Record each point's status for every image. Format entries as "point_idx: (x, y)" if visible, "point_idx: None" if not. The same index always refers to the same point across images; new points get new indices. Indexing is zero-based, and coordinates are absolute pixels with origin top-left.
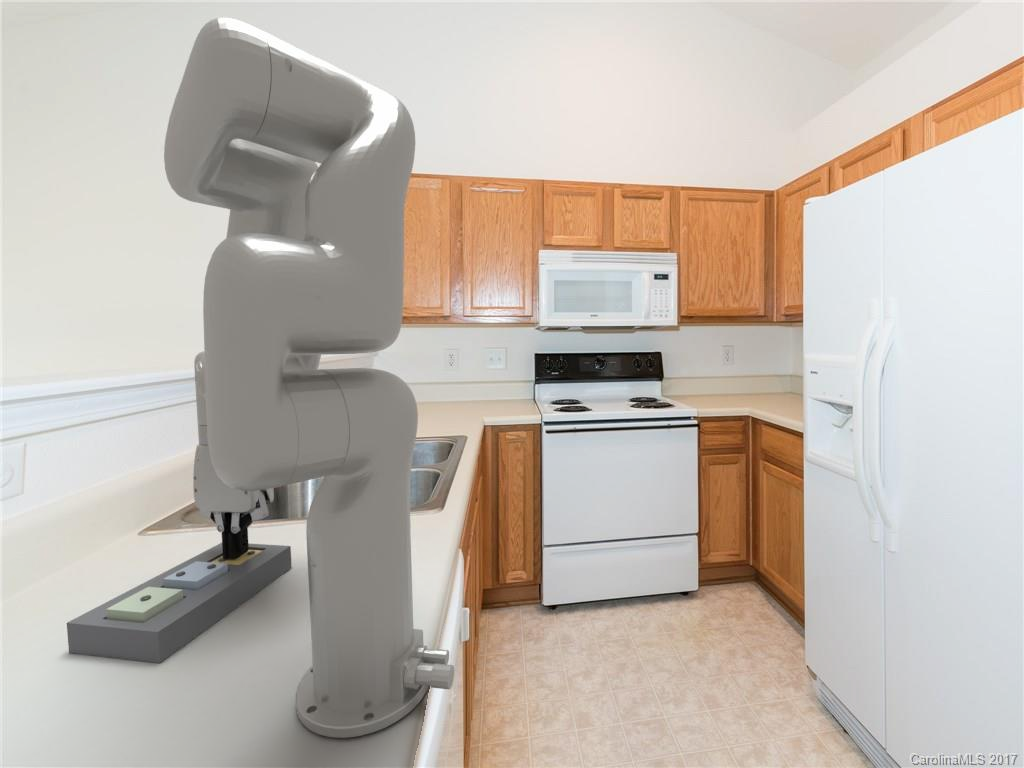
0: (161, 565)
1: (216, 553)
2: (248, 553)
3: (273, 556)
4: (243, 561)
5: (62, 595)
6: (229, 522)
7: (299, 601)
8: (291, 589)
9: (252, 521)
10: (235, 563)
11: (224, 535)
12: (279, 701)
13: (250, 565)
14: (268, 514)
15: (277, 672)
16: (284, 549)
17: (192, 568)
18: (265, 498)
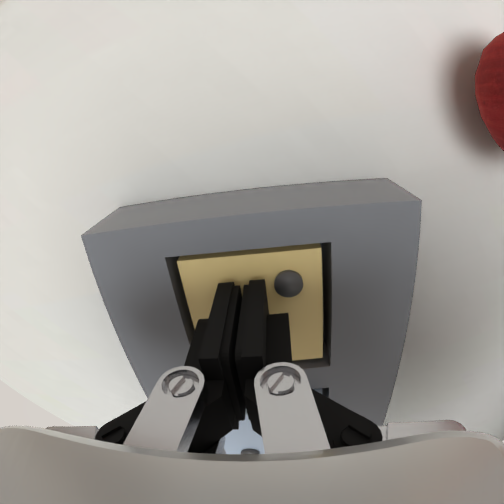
0: (8, 261)
1: (164, 322)
2: (287, 295)
3: (408, 295)
4: (313, 335)
5: (21, 369)
6: (209, 431)
7: (482, 316)
8: (451, 285)
9: (340, 408)
10: (296, 350)
11: (237, 421)
12: (497, 425)
13: (370, 359)
14: (461, 425)
15: (489, 413)
16: (417, 237)
17: (246, 436)
18: (424, 465)
